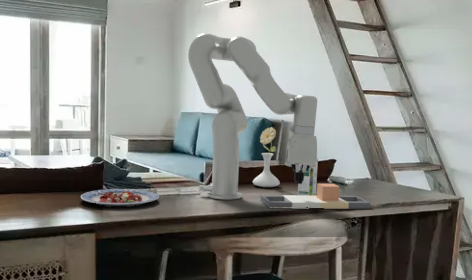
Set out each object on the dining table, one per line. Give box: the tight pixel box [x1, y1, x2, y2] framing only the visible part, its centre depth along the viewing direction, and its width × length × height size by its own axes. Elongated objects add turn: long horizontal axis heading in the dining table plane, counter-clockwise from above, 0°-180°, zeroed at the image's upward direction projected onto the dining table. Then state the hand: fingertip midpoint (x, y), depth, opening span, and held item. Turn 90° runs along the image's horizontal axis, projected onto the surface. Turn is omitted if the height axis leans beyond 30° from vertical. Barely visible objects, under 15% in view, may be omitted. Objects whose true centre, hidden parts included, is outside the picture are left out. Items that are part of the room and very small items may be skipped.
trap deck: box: [260, 194, 372, 210], centre depth 185 cm, size 36×13×2 cm, turn 100°
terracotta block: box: [316, 183, 340, 201], centre depth 186 cm, size 6×6×5 cm
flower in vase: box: [252, 126, 280, 188], centre depth 218 cm, size 13×11×25 cm
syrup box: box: [297, 157, 319, 195], centre depth 204 cm, size 6×6×14 cm
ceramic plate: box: [80, 188, 160, 207], centre depth 178 cm, size 26×26×3 cm
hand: (298, 183), depth 184 cm, fingers closed
